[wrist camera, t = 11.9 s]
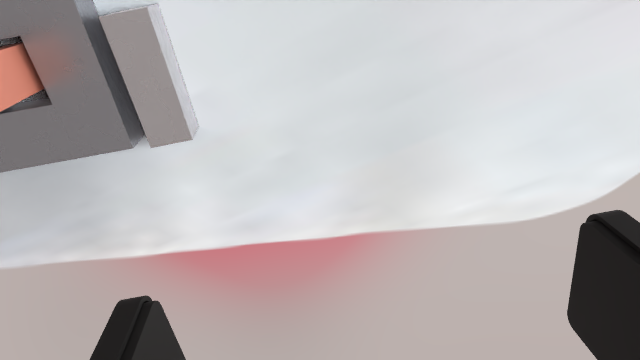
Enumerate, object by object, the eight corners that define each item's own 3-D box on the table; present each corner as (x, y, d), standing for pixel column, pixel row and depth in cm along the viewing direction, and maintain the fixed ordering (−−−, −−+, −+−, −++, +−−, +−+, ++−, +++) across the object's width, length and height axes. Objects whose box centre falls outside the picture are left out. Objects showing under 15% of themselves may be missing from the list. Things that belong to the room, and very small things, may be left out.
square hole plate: (-120, -12, 30) (-159, -10, 27) (74, -48, 30) (54, -49, 27) (-16, 163, 36) (-39, 179, 34) (144, 134, 36) (133, 148, 34)
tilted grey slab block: (115, 11, 32) (98, 17, 29) (159, 3, 32) (146, 7, 29) (161, 132, 37) (150, 147, 34) (199, 125, 37) (192, 139, 34)
